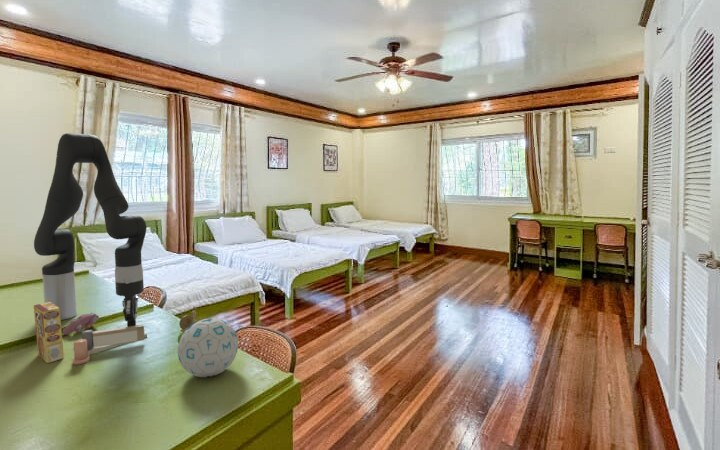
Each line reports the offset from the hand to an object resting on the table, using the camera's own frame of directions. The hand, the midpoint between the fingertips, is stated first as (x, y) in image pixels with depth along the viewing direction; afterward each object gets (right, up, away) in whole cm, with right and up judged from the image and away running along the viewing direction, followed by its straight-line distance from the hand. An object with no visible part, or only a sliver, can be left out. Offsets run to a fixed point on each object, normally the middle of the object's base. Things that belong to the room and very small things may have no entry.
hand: (131, 330), depth 118 cm
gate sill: (-5, -4, -2) cm, 6 cm away
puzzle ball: (+32, -7, -18) cm, 38 cm away
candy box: (-17, -5, -11) cm, 21 cm away
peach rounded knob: (-6, -5, -13) cm, 15 cm away
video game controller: (-23, -3, +9) cm, 24 cm away
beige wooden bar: (-3, -3, -4) cm, 6 cm away
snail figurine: (+19, -5, -2) cm, 20 cm away
